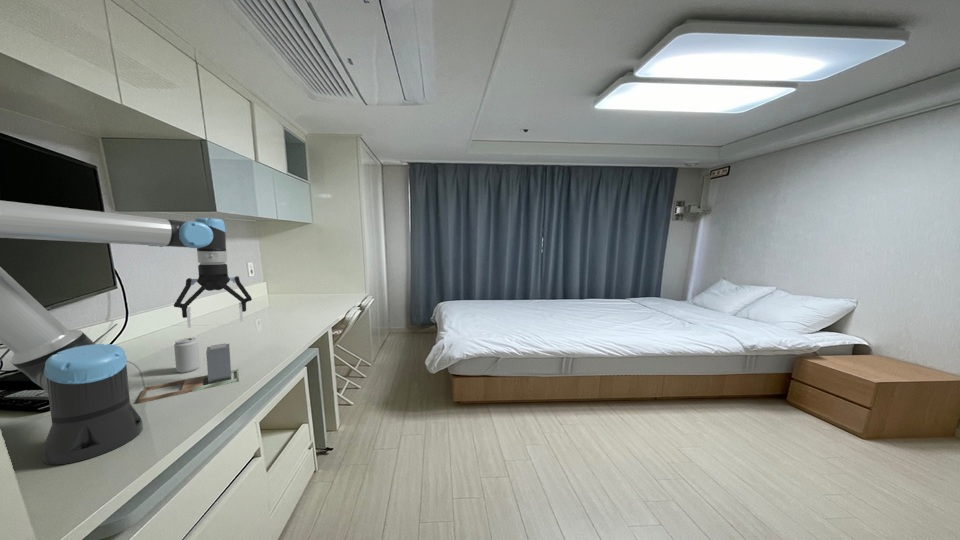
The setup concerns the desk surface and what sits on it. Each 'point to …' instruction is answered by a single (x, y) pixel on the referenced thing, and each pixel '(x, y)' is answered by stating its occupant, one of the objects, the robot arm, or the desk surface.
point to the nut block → (218, 363)
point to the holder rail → (184, 386)
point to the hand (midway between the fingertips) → (216, 323)
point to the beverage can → (186, 355)
